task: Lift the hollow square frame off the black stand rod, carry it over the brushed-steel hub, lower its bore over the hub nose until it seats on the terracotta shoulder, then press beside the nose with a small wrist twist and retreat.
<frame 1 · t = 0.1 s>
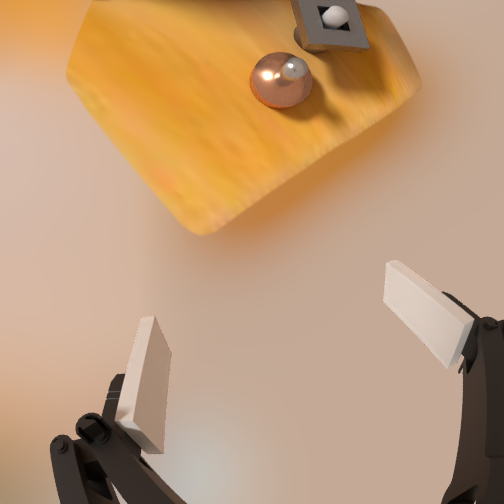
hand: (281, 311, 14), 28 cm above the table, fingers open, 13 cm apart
stand: (312, 37, 31), on the table
hollow square frame: (326, 24, 26), point 6 cm above the table, touching stand
hub: (278, 82, 34), on the table
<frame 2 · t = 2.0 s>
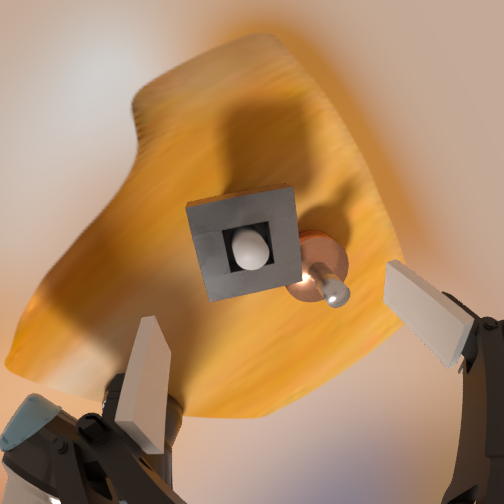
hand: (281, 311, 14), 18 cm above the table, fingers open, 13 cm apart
stand: (238, 222, 31), on the table
hollow square frame: (245, 238, 26), point 6 cm above the table, touching stand
hub: (309, 262, 34), on the table
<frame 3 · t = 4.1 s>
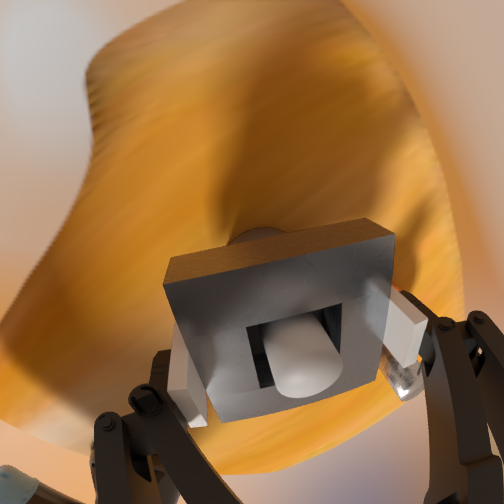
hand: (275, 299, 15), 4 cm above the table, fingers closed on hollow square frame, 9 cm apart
stand: (263, 269, 19), on the table
hollow square frame: (285, 319, 13), point 6 cm above the table, touching gripper, stand
hub: (361, 318, 22), on the table
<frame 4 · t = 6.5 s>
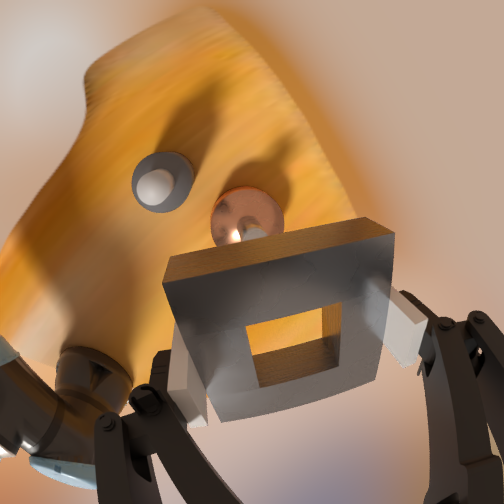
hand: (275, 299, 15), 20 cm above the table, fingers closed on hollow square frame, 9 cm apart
stand: (169, 176, 30), on the table
hollow square frame: (284, 319, 13), point 22 cm above the table, touching gripper
hub: (244, 219, 33), on the table
when the fingers open (4 cm above the table, at t = 9.3 s): hollow square frame drops 3 cm, resting on hub.
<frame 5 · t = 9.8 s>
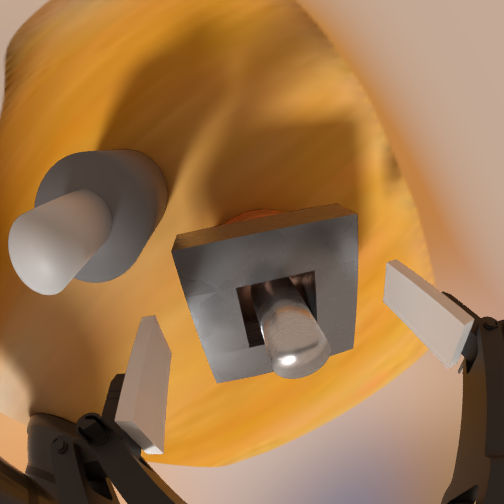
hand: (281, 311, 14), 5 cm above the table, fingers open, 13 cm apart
stand: (122, 196, 16), on the table
hollow square frame: (270, 289, 16), point 3 cm above the table, touching hub
hub: (262, 268, 19), on the table
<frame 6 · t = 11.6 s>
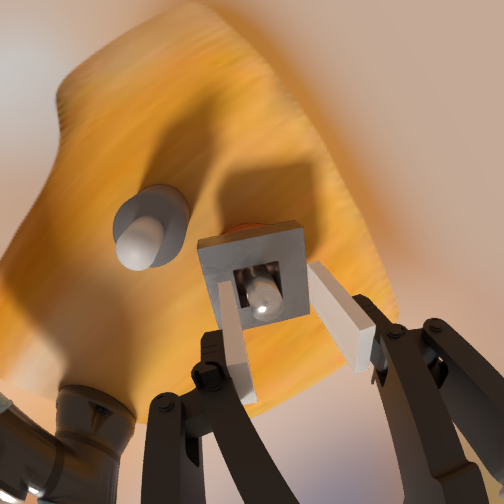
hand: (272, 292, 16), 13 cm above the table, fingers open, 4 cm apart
stand: (160, 214, 26), on the table
hollow square frame: (254, 273, 26), point 3 cm above the table, touching hub
hub: (250, 261, 29), on the table
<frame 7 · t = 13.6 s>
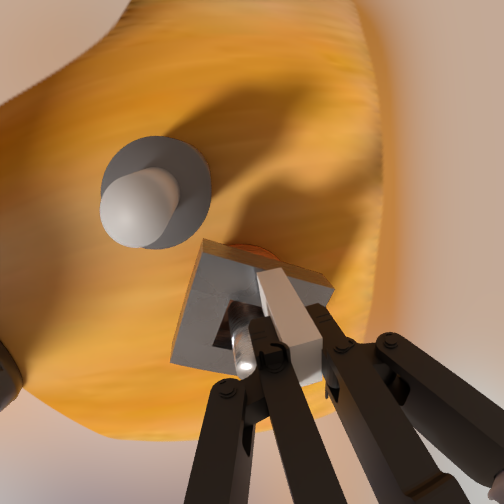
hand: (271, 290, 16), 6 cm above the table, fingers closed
stand: (169, 180, 18), on the table
hollow square frame: (244, 310, 20), point 3 cm above the table, touching hub
hub: (240, 291, 23), on the table
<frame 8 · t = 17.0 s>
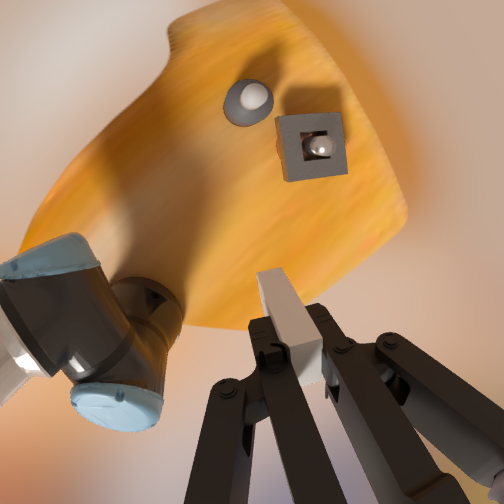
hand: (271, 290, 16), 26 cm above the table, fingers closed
stand: (244, 107, 35), on the table
hollow square frame: (309, 145, 36), point 3 cm above the table, touching hub
hub: (302, 145, 39), on the table
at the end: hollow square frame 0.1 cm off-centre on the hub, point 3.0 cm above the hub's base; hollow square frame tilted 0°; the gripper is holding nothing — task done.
